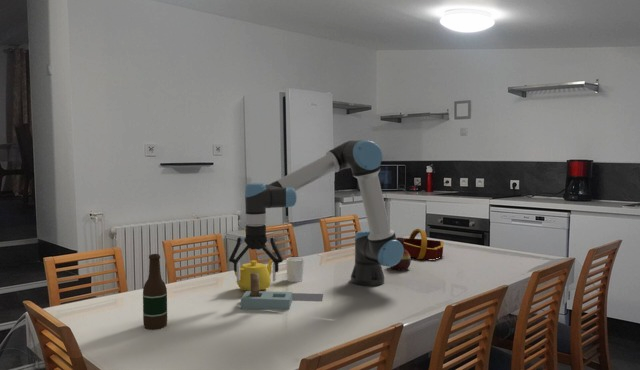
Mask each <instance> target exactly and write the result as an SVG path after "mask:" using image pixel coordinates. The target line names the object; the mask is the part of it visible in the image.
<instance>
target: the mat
mask: <svg viewBox="0 0 640 370" xmlns="http://www.w3.org/2000/svg"><path fill="white" fill-rule="evenodd" d="M323 297H324V293H302V292H301V293H300V292H297V293H296V292H292V302H297V301H298V302H299V301H301V302H323V299H324V298H323Z"/></svg>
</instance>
